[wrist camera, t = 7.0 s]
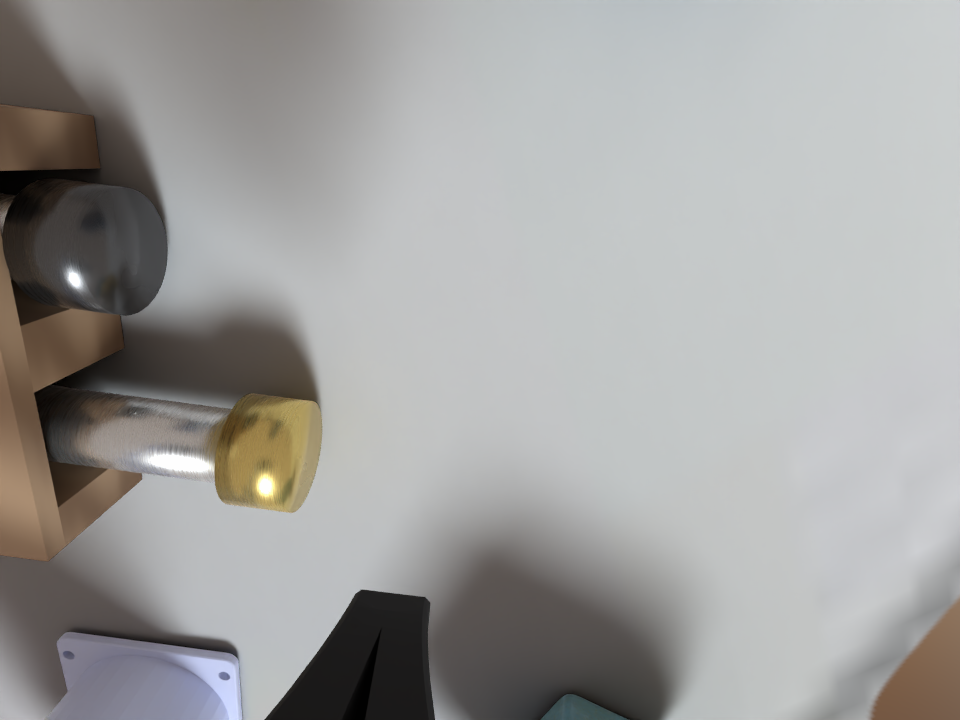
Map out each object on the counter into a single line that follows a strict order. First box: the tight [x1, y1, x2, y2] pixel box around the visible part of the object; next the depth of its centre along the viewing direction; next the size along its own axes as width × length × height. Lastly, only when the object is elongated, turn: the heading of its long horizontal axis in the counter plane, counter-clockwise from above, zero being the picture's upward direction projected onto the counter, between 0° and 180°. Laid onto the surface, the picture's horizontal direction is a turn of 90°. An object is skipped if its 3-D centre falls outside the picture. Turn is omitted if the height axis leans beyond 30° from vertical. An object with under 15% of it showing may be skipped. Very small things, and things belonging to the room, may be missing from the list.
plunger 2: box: [34, 385, 322, 513], centre depth 17 cm, size 4×10×4 cm, turn 83°
